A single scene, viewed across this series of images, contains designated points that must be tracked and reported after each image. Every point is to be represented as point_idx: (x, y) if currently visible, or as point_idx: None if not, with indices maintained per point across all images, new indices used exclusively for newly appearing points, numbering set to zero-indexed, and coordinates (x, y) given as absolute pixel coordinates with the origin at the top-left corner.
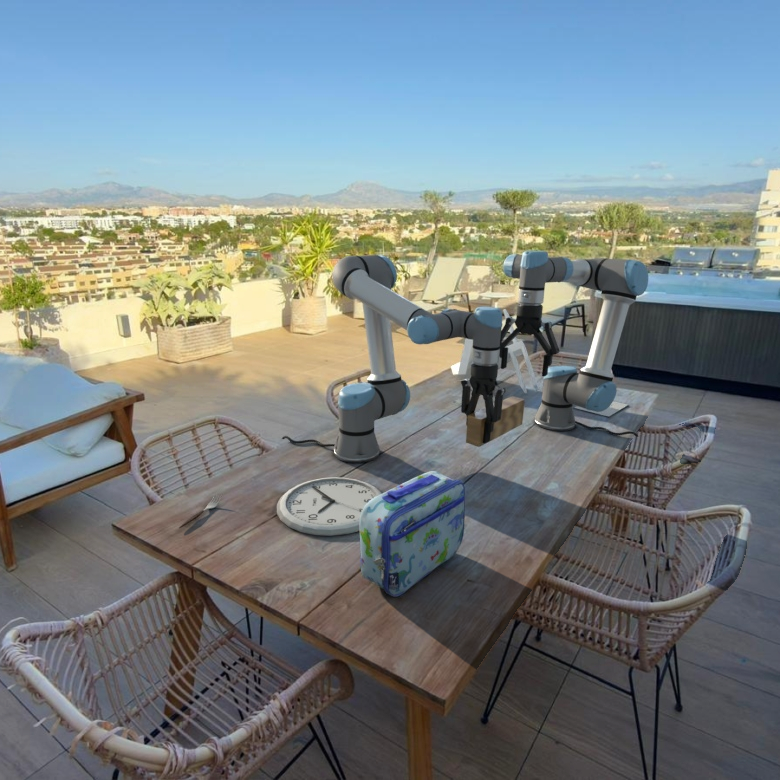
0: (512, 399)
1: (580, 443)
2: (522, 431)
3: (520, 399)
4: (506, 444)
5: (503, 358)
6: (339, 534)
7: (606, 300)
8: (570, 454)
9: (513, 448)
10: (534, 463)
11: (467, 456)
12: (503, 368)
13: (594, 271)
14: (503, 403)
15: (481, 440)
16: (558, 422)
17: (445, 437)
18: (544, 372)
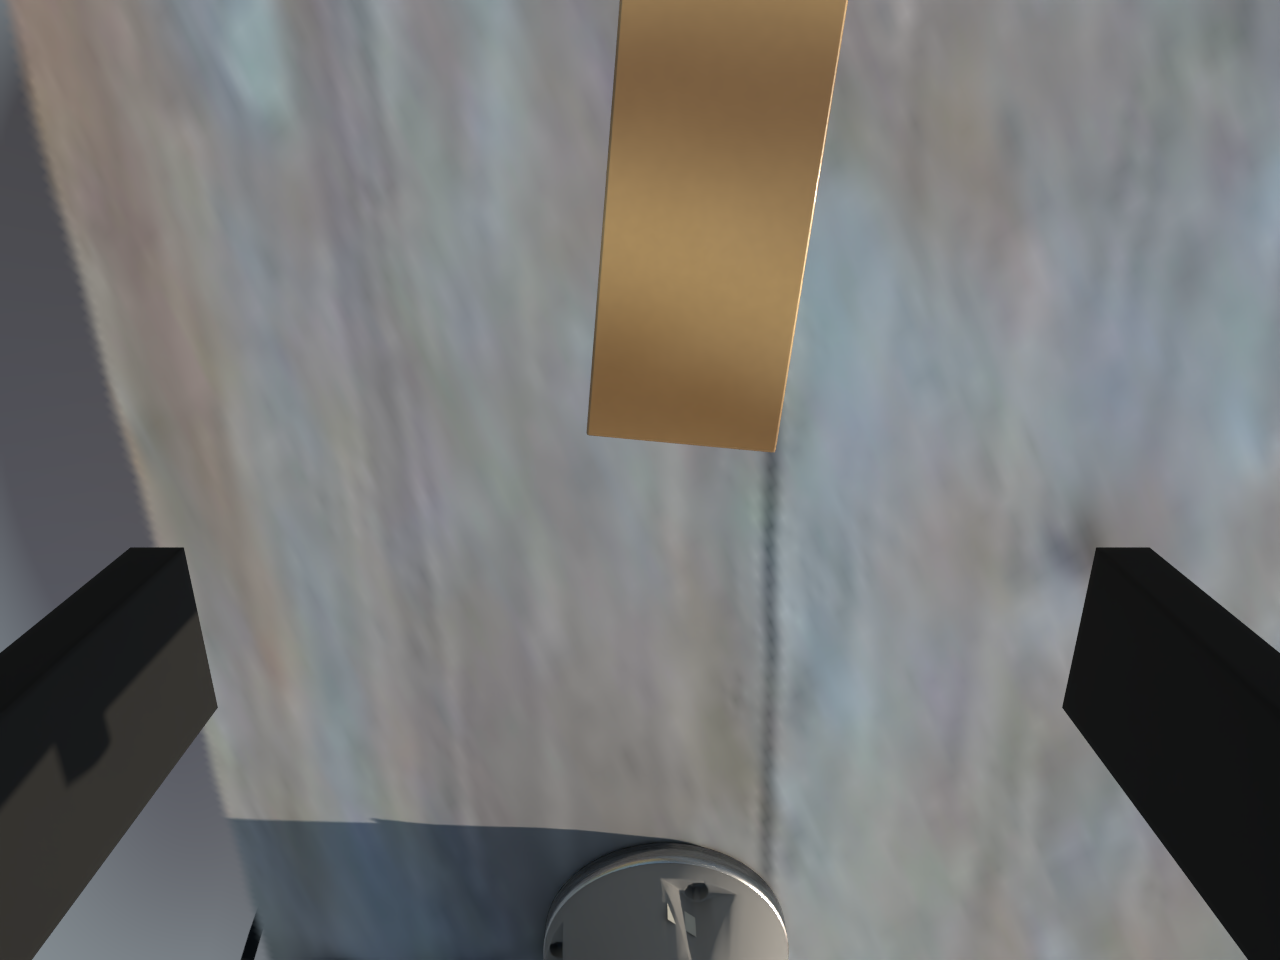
0: (714, 324)
1: (424, 770)
2: (785, 737)
3: (628, 391)
4: (792, 490)
5: (1265, 693)
6: None
7: None
8: (397, 591)
9: (726, 459)
10: (511, 319)
11: (953, 114)
12: (1093, 574)
13: None
14: (748, 60)
15: None
16: (607, 903)
17: (1227, 332)
18: (80, 592)
